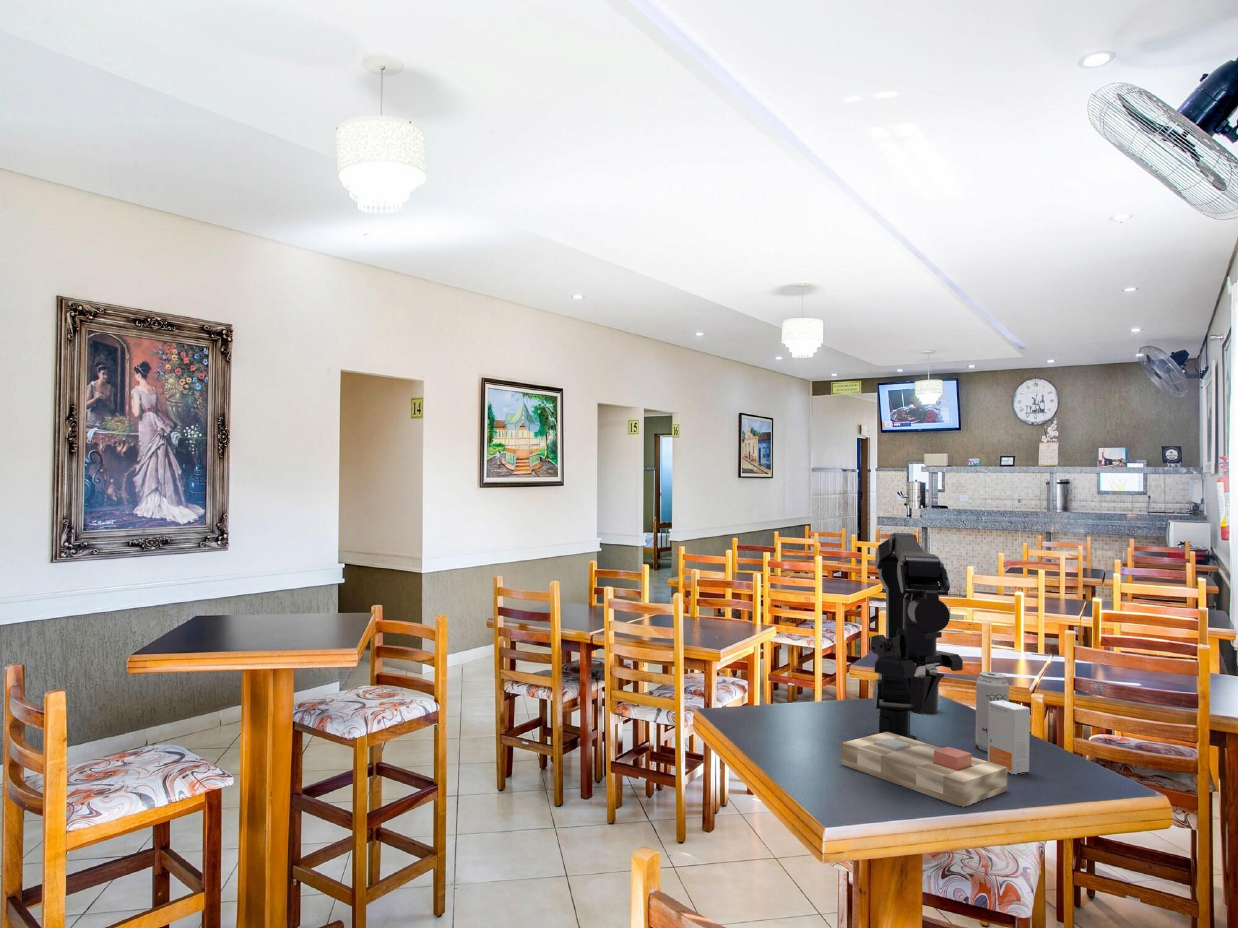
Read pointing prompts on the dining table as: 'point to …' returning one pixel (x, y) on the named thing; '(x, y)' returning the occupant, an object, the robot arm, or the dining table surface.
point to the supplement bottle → (932, 703)
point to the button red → (952, 758)
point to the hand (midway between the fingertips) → (918, 712)
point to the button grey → (892, 744)
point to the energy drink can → (986, 691)
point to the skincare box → (1009, 735)
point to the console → (924, 770)
